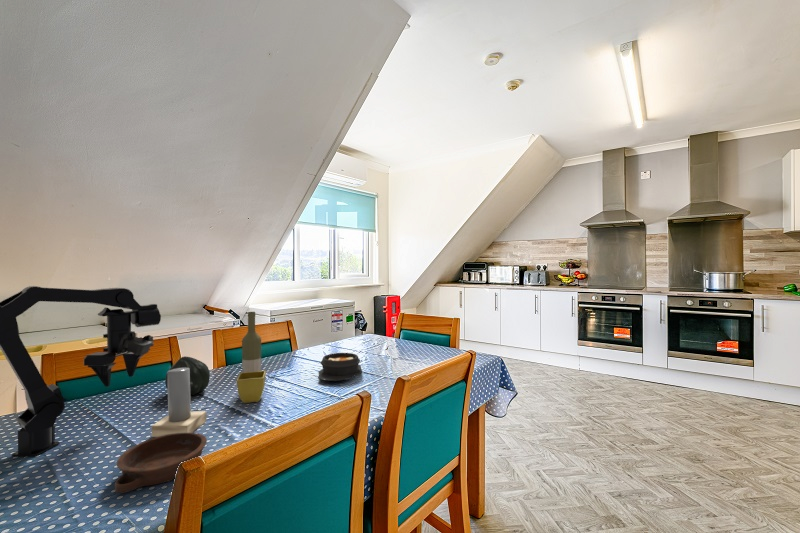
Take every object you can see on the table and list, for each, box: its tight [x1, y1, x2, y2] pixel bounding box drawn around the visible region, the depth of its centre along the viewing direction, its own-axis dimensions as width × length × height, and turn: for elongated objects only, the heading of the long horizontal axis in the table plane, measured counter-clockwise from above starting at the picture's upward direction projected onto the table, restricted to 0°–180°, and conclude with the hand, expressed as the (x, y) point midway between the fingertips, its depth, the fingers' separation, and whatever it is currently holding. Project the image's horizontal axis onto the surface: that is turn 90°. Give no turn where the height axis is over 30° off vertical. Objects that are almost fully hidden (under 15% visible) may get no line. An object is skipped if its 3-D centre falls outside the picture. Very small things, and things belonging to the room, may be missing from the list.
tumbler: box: [166, 368, 192, 422], centre depth 106 cm, size 6×6×14 cm
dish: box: [114, 432, 208, 494], centre depth 85 cm, size 18×22×5 cm
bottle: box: [241, 311, 262, 373], centre depth 138 cm, size 7×7×30 cm
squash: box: [164, 355, 211, 396], centre depth 135 cm, size 14×15×15 cm
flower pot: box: [236, 370, 266, 404], centre depth 128 cm, size 9×9×9 cm
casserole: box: [317, 352, 363, 382], centre depth 156 cm, size 25×19×8 cm
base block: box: [150, 410, 207, 438], centre depth 106 cm, size 10×10×3 cm
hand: (119, 381), depth 109 cm, fingers open, 9 cm apart
